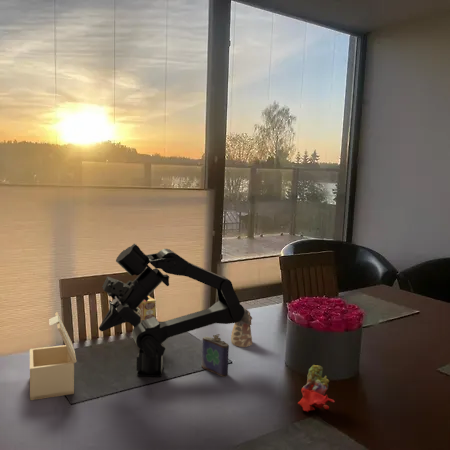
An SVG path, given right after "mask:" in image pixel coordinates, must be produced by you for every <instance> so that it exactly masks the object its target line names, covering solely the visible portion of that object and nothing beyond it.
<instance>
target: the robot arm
mask: <svg viewBox="0 0 450 450" xmlns="http://www.w3.org/2000/svg"><path fill="white" fill-rule="evenodd" d="M115 262H116V263H117V264H118V265H119V266H120V267H121V268H123V270H124V271H125V272H126V273H128V274H129V275H130V276H132V277H133V276H135V277H136V278H134V279H133V281H132V280H128V281H127V282H126V283H125V282H123V281H121V280H119V279H116V278H113V277H111V276H106V279H105V281H104V282H103V284H102V286H101V288H102V289H103V291H104V292H105V293H106V294H107V296H109V297H111V298H112V299H113V300H112V301H111V300H110V299H109V300H108V303H109V304H108V307H109V308H108V311H107V313H106V314H105V317H104V318H103V320H102V321H101V324H100V325H99V326H98V330H99V331H100V332H105V331H107V330H109V329H111V328H114V327H117V326H120V325H123V324H125V323H129V324H130V325H131V326H132V327H133V328H132V331H131V333H132V334H131V336H132V339H133V341H134V342H135V344H136V347H138V348H139V351H138V353H137V356H136V371H137V374H136V375H137V376H138V377H155V378H156V377H162V373H163V369H164V364H163V363H164V362H163V358H164V353H165V351H166V347H165V346H164V344H163V343H164V342H165V341H167V339H169V338H172V337H175V336H179V335H182V334H185V333H188V332H192V331H194V330H198V329H201V328H205V327H208V326H211V325H214V324H219V325H220V324H221V325H222V324H223V325H230V324H235V323H237V322H239V321H241V320H242V318H243V316H244V308H245V307H244V306H243V305H242V304H241V303H240V300H239V297H238V295H237V294H236V291H235V289H234V286H233V283H232V281H231V280H230V279H228V278H227V277H226V276H223V275H219V274H217V273H214V272H213V271H209V270H207V269H206V268H204V267H200V266H198V265H196V264H193V263H191V262H189V261H187V260H186V259H184V258H183V257H182V256H180V255H179V254H177V253H176V252H174V251H173V250H171V249H168V248H164V249H161V250H159V251H158V252H157V253H156V252H155V253H149V254H145V253H144V252H143V251H142V250H141V248H140V247H139V246H138V245H137V243H133V244H132V245H131V246H129V247H127V248H125V249H123V250H122V251H121V252H120V253H119V255H118V256H117V257H116V259H115ZM149 264H150V265H151V266H152V267H153V268H152V267H151V266H150V265H149ZM160 270H162V271H163V272H165V273H166V274H164V273H163V272H162V271H160ZM170 275H173V276H181V277H182V276H183V277H187V278H189V279H192V280H195V281H197V282H199V283H202V284H204V285H206V286H209V287H211V288H214V289H215V290H216V297H217V299H218V300H217V301H216V302H215V303H213V304H212V305H211V306H210V307H208V308H206V309H202V310H200V311H199V310H198V311H196V312H195V311H194V312H192V313H188V314H185V315H181V316H179V317H175V318H172V319H168V320H164V321H159V320H158V319H157V318H156V316H155V317H152V318H150V319H147V320H141V317H140V316H139V314H138V313H137V311H138V309H137V307H138V306H139V305H140V304H141V303H142V302H143V301H144V300H146V301H147V300H148V299H149V298H148V296H150V295H151V294H152V293H153V292H154V291H155V289H157V288H158V287H159V286H160V285H161V284H162V283H163V284H164V285H165V286H166V287H169V286H170Z"/></svg>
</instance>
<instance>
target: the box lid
mask: <svg viewBox="0 0 450 450" xmlns="http://www.w3.org/2000/svg"><path fill="white" fill-rule="evenodd" d="M48 322H49V323H48V324H49V327H50V326H53V325H56V326H57V331H58V332H59V334H60V336H61V339H62V340H63V343H64V344H65V345H66V347H67V349H68V351H69V353H70V355H71V357H72V359H73V361H74V364H75V363H77V358H76V357H77V356H76V352H75V347H74V345H73V342H72V340H71V337H70V335H69V333H68V331H67V329H66V327H65V325H64V323H63V321H62V318H61V317H60V315H59V312H58V311H56V312H55V315H54V316H53V317H51V318H49V319H48Z"/></svg>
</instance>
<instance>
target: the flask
mask: <svg viewBox="0 0 450 450" xmlns="http://www.w3.org/2000/svg"><path fill="white" fill-rule="evenodd" d="M219 336H221V334H219V333H218V334H217V333H216V334H215V335H212V337H211V336H203V337H202V349H201V365H200V366H201V367H202V368H203V369H204V370H206V371H208V372H211V373H214V374H217V375H218V376H220V377H224V378H225V377H228V375H229V373H228V372H229V352H230V351H229V350H230V349H229V348H230V345H229V343H227V342H226V341H223V340H222V339H221V338H220V337H219Z"/></svg>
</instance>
